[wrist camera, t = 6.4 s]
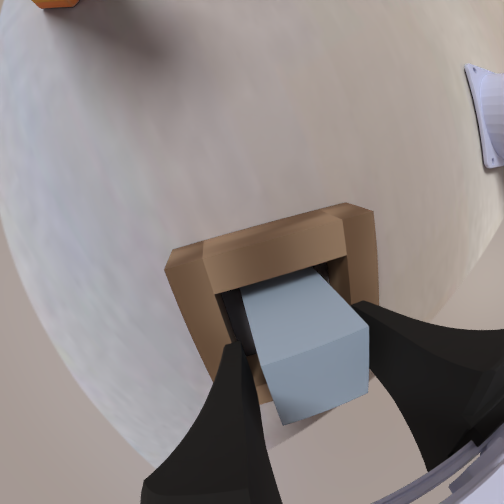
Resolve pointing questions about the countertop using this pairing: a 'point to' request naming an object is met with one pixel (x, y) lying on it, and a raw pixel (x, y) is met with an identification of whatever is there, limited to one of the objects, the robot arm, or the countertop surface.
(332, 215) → the walnut holder
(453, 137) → the countertop surface
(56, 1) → the supplement box
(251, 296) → the peg
